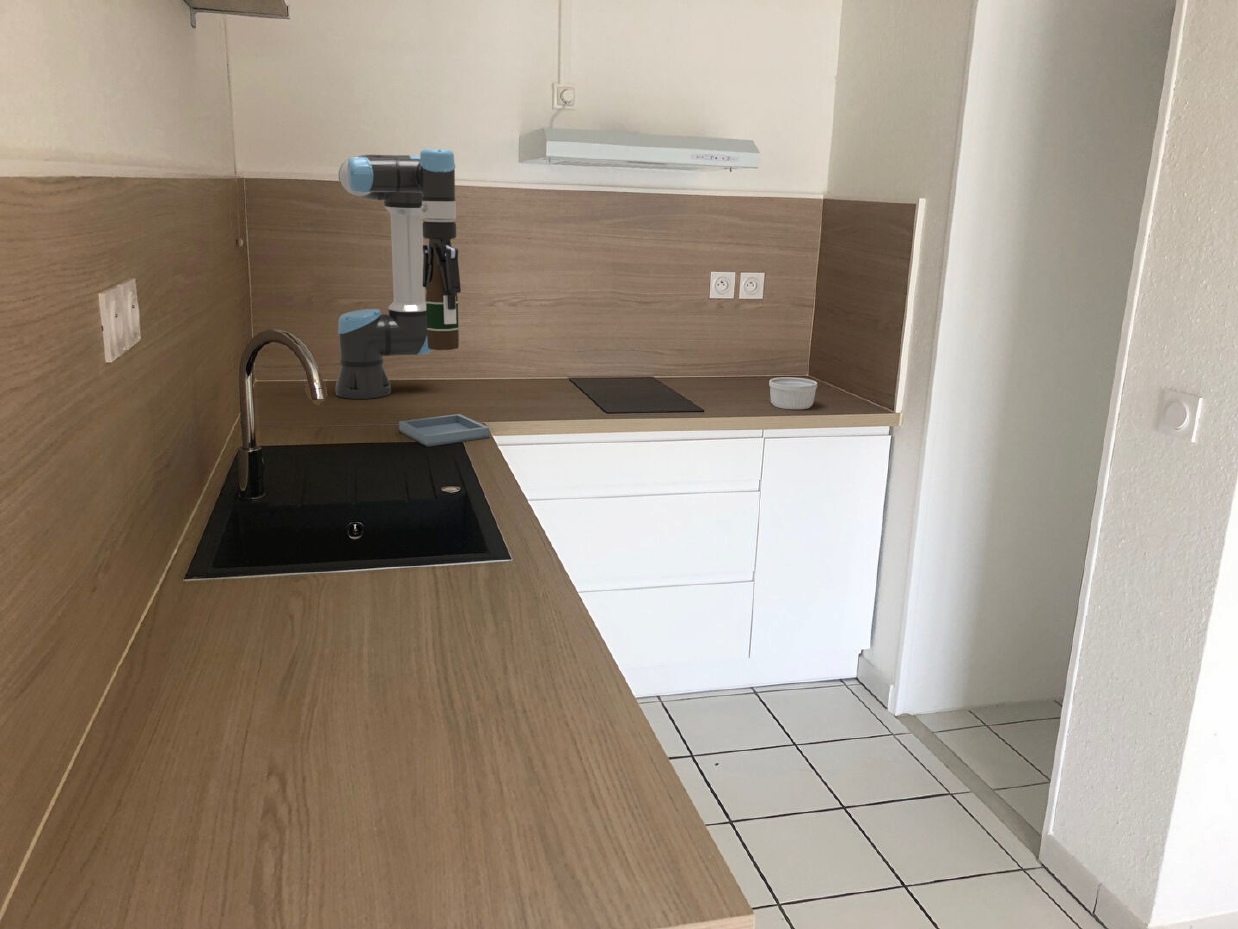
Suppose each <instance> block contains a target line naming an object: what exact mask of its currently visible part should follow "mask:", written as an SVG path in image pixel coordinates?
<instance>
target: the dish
mask: <svg viewBox="0 0 1238 929" xmlns="http://www.w3.org/2000/svg"><path fill="white" fill-rule="evenodd" d="M398 425H399V426H398V427H399V433H402V434H403V435H405V436H407V437H409V438H410V439H413V440H414V441H416V442H417V443H420V444H421V445H423V446H425V447H427V448H428V447H434V446H435V447H436V446H440V445H448V444H454V443H455V444H456V443H462V442H468V441H477V440H482V439H489V438H490V427H489V426H487V425H485V424H482V423H480V422H478V421H477V420H474V419H472V418H469V417H467V416H465V415H463V414H460V413H457V414H448V415H447V414H446V415H441V416H432V417H425V418H417V419H410V420H402V421H401V420H400V421H398Z"/></svg>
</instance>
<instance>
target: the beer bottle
mask: <svg viewBox="0 0 1238 929" xmlns="http://www.w3.org/2000/svg"><path fill="white" fill-rule="evenodd" d="M434 247H438V244H436V243H434V244H433V249H434ZM444 292H445V289H444V285H443V280H442V275H441V270H440V267H438V265H437V260H436V256H435V255H434V264H433V278H432V280H431V282H430V283H429V285H428V288H427V290H426V292H425V293H426V294H425V302H426V315H427V341H428V348H429V349H433V350H435V351H452V350H457V349H459V344H460V343H459V342H460V339H459V336H460V334H459V333H460V332H459V299H458V294H457V295H456V324H444V300H443V293H444ZM433 350H432V351H433Z"/></svg>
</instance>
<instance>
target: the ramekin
mask: <svg viewBox="0 0 1238 929" xmlns="http://www.w3.org/2000/svg"><path fill="white" fill-rule="evenodd" d="M768 385H769V393H770V402H771V404H772V405H773V406H774V407H775V408H779V409H783V410H792V411H793V410H794V411H795V410H798V411H800V410H806V409H807V410H808V409H810V408H811V407H812V406H813V404H814V401H815V396H816V389H817V388H818V382H817V381H815V380H812V379H808V378H802V377H787V376H786V377H775V378H771V379H770V380H769V383H768Z"/></svg>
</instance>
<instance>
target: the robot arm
mask: <svg viewBox="0 0 1238 929" xmlns="http://www.w3.org/2000/svg"><path fill="white" fill-rule="evenodd" d="M419 154H420V156H418V155H410V154H409V155H408V154H406V155H404V154H403V155H402V154H401V155H400V154H399V155H398V154H397V155H395V154H394V155H392V154H362V155H357V156H353V157H350V158H348V159H346V160H344V162H342V164H341V165H340V166H339V171H338V180H339V184H340V185H341V187H342V188H343V190H344V191H346V192H347V193H348V194H350V195H352V196H355V197H358V198H361V199H365V200H369V201H370V200H371V201H383V204H384V209H386V210H387V211H388V213H389V214H390V234H391V237H390V238H391V262H392V288H393V290H392V292H393V302H391V304H389V306H388V313H386V314H385V313H383V314H382V311H381V310H380V309H379V308H365V309H358V310H352V311H349V312H345V313H343V314H341V315H340V317H339V318H338V321H337V322H338V329H337V330H338V331H337V333H338V334H337V335H338V337H339V338H338V340H339V360H340V361H339V362H340V367H339V368H340V369H339V373H338V376H337V379H336V384H335V396H337V397H340V398H343V399H352V400H359V399H360V400H367V399H368V400H369V399H377V398H381V397H386V396H388V395H390V394H392V388H391V383H390V380H389V378H388V374H387V372H386V369H385V367H384V357H388V356H389V357H390V356H419V355H427V354H430V353H432V351H433V349H429V348H428V341H427V315H426V294H425V293H426V292H425V290H426V291H427V288H428V285H429V283H430V282H431V280H432V278H433V264H434V255H435V256H436V260H437V265H438V267H440V270H441V275H442V280H443V285H444V289H445V292H444V293H443V300H444V324H456V295H457V296H458V294H460V293H461V291H462V289H461V280H460V279H461V278H460V268H459V249H458V247H457V248H456V247H455V248H453V247H452V242H451V240H453V239H455V238H457V223H456V222H455V220H456V219H457V207H456V206H457V204H456V202H457V201H456V178H455V177H456V174H455V173H456V171H455V169H456V164H455V154H454V152H453V151H452V150H451V149H445V148H444V149H443V148H442V149H437V148H435V149H434V148H424V149H422V150H421V151H420V153H419ZM423 220H424V221H423ZM424 239H428V244H424ZM434 243H436V244H438V247H434V249H433V244H434Z"/></svg>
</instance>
